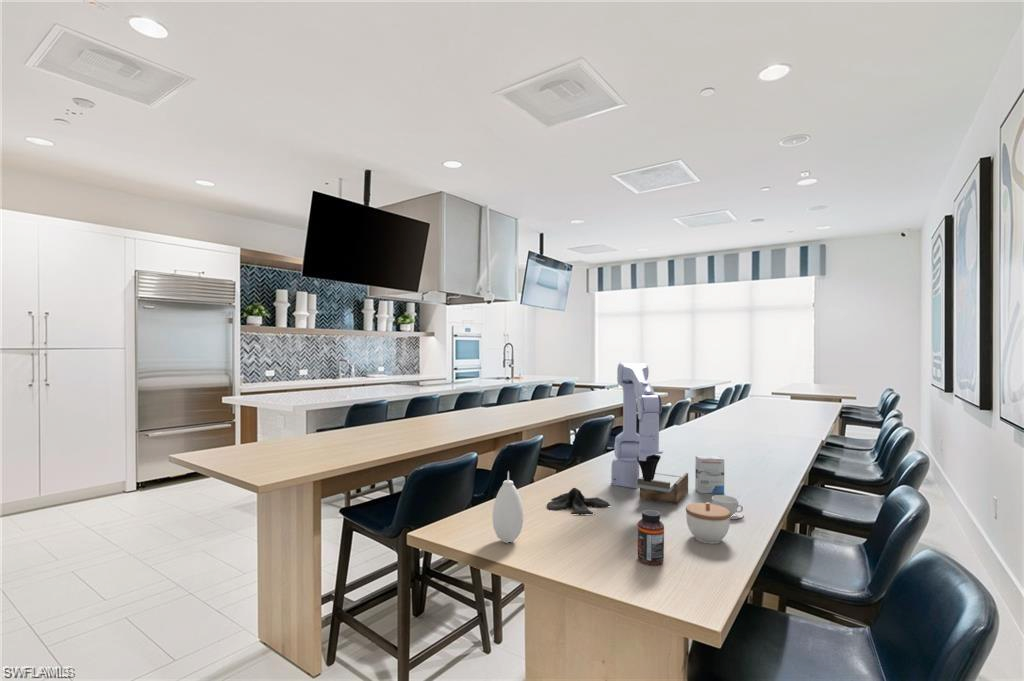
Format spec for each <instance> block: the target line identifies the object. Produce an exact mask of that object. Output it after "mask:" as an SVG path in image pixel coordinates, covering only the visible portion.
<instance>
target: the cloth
mask: <svg viewBox="0 0 1024 681" xmlns="http://www.w3.org/2000/svg"><path fill="white" fill-rule="evenodd" d="M550 500H551V501H549V502H547V504H546V507H547V510H548V511H550V510H554V511H562V510H561V509H566V510H568V509H573V511H572V512H570V513H571V514H579V515H578V516H582V515H581V514H593V513H594V512H593V511H591V510H589V509H588V508H589V506H592V507H591V508H601V507H603V508H609V507H608V506H612V505H611V504H610V503H609V502H608V501H606V500H605V499H602V498H600V497H585V496H584V495H583V493H582V492H581V490H580V489H578V488H576V487H572V488H571V489H570V490H569V491H568V492H566V493H562V494H560V495H558V496H556V497H553V498H551V499H550ZM571 507H572V508H571ZM567 508H568V509H567ZM571 514H570V515H571Z"/></svg>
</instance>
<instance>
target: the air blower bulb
mask: <svg viewBox="0 0 1024 681" xmlns="http://www.w3.org/2000/svg"><path fill="white" fill-rule="evenodd" d="M523 524H524V507H523V502H522V499H521V496H520V493H519V491H518V489H517V488H516V486H515V485H514V481H513V480H511V479H510V471H509V470H508V471H507V478H506V480H504V481H503V482H502V485H501V486H500V488H499V490H498V491H497V494H496V496H495V500H494V502H493V508H492V526H493V530H494V533H495V535H496V537H497V538H498V539H500V541H501V542H503V543H505V542H511V543H512V542H514V541H516V540H517V538H518V537H519V536H520V534H521V532H522V528H523Z"/></svg>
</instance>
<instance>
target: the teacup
mask: <svg viewBox="0 0 1024 681" xmlns="http://www.w3.org/2000/svg"><path fill="white" fill-rule="evenodd" d="M739 502H740V501H739V499H738V498H736V497H734V496H731V495H725V494H723V495H722V494H720V495H719V494H717V495H716V494H715V495H713V496H712V497H711V504H715V505H719V506H722V507H724V508H726V509H728V510H729V511H730V520H737V519H741V518H743V517H744V514H743V513H742V512H743V510H744V507H743V505H742V504H741V503H739ZM738 508H740V510H738ZM733 514H735V515H736V516H732V515H733ZM731 516H732V517H731Z"/></svg>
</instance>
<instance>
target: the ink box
mask: <svg viewBox="0 0 1024 681" xmlns="http://www.w3.org/2000/svg"><path fill="white" fill-rule="evenodd" d="M694 464H695V471H694V472H695V474H694V475H695V481H694V483H695V484H694V486H695V487H694V489H695V490H696V491H697V493H699V494H720V493H722V494H723V495H725V458H722V457H721V456H715V455H714V456H713V455H711V456H709V455H696V456H695V463H694ZM722 494H721V495H722Z"/></svg>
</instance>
